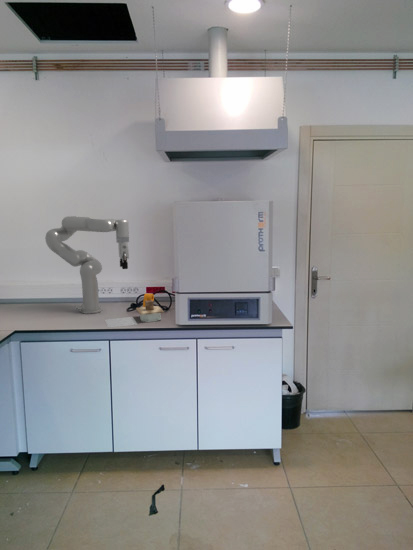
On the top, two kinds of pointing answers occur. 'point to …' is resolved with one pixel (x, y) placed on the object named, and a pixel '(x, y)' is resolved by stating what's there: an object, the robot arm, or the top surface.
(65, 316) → the top surface
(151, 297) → the bracket
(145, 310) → the lid
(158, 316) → the bowl
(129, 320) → the mat
